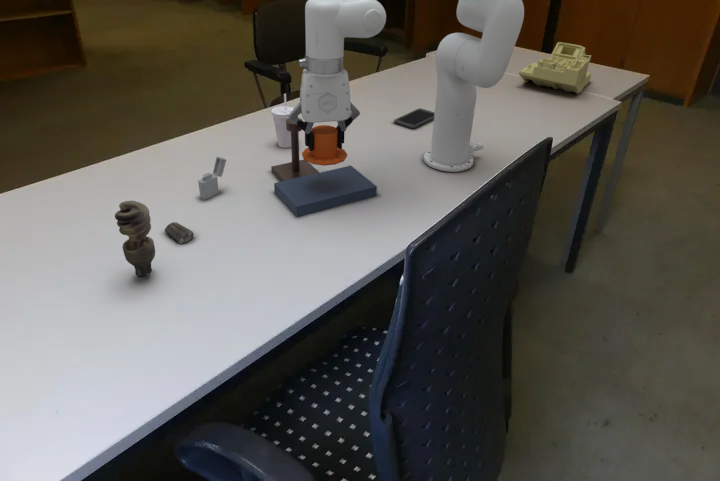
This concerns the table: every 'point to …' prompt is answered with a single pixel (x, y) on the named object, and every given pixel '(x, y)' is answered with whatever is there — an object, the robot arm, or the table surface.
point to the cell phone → (415, 118)
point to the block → (179, 232)
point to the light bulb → (136, 236)
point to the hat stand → (293, 158)
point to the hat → (324, 147)
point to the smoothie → (282, 124)
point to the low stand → (324, 190)
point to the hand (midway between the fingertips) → (324, 146)
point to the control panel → (561, 69)
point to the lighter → (211, 180)
